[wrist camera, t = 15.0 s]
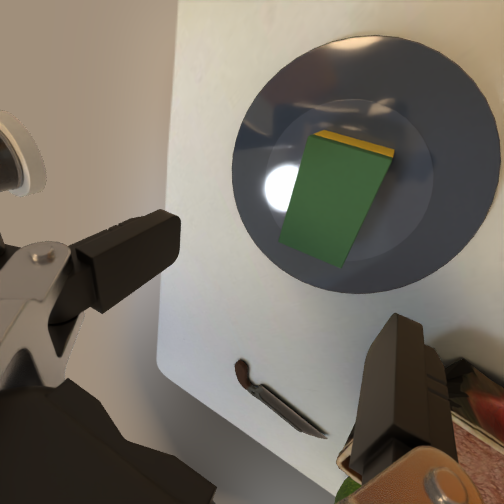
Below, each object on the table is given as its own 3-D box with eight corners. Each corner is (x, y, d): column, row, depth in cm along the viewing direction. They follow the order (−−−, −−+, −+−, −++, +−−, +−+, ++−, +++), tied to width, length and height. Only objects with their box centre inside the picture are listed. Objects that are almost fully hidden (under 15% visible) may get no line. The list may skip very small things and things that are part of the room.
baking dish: (448, 305, 22) (431, 402, 15) (707, 496, 18) (854, 762, 11) (348, 373, 32) (309, 451, 25) (498, 508, 27) (502, 652, 20)
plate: (226, 239, 27) (219, 244, 26) (261, 16, 18) (252, 11, 17) (404, 319, 22) (404, 329, 21) (584, 73, 13) (599, 71, 12)
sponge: (294, 224, 22) (277, 242, 19) (323, 129, 18) (308, 135, 15) (350, 246, 20) (341, 269, 18) (395, 149, 16) (392, 159, 14)
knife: (228, 370, 37) (226, 375, 36) (240, 357, 34) (237, 361, 34) (315, 441, 35) (314, 447, 35) (334, 432, 33) (333, 438, 32)
